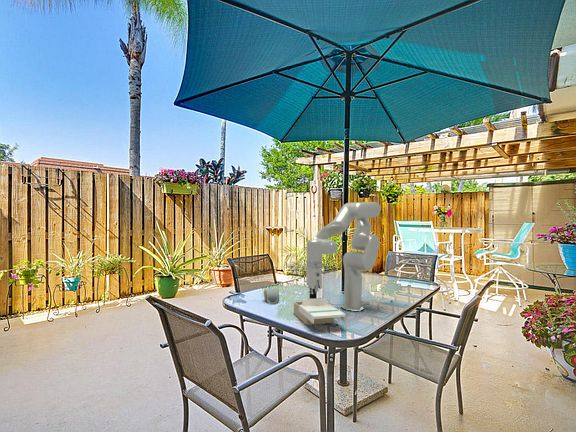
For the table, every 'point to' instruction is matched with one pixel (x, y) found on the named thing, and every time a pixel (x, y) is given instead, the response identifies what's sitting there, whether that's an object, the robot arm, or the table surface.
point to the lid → (319, 309)
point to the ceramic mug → (271, 295)
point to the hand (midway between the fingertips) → (312, 301)
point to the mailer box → (305, 320)
